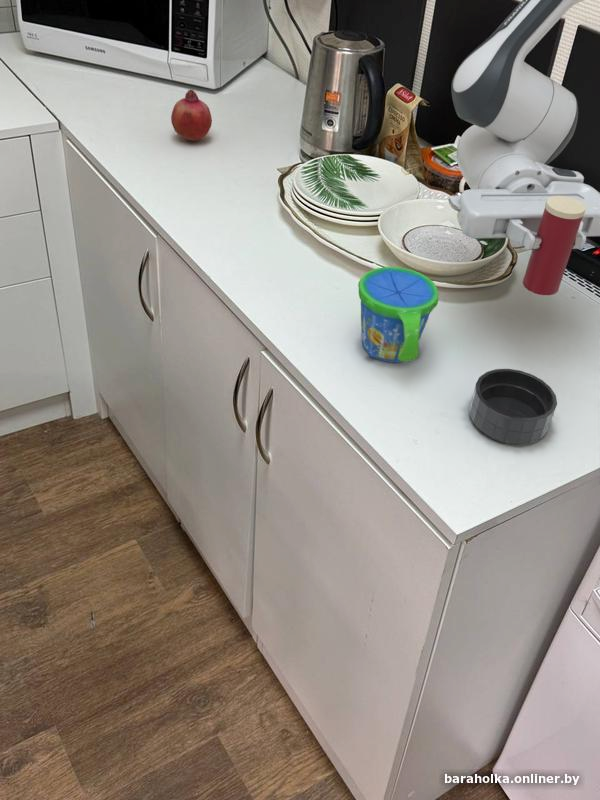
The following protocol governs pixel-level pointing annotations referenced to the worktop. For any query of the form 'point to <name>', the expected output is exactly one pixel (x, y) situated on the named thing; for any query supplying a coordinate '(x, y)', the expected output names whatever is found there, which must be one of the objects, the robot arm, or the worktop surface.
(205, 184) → the worktop surface
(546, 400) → the bowl
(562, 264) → the candy tube
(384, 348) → the snack cup
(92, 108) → the worktop surface
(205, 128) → the fruit
